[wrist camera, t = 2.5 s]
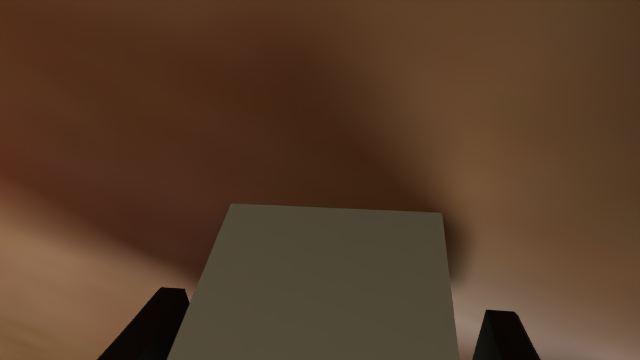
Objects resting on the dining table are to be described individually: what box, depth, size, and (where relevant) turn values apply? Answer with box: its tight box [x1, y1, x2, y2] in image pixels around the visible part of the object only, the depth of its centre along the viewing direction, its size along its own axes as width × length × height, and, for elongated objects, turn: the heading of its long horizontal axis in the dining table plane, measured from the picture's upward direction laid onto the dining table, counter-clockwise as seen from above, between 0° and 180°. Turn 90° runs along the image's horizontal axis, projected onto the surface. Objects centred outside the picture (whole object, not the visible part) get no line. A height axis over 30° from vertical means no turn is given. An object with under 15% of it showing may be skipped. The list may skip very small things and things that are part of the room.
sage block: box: [167, 203, 459, 360], centre depth 11 cm, size 5×5×5 cm
